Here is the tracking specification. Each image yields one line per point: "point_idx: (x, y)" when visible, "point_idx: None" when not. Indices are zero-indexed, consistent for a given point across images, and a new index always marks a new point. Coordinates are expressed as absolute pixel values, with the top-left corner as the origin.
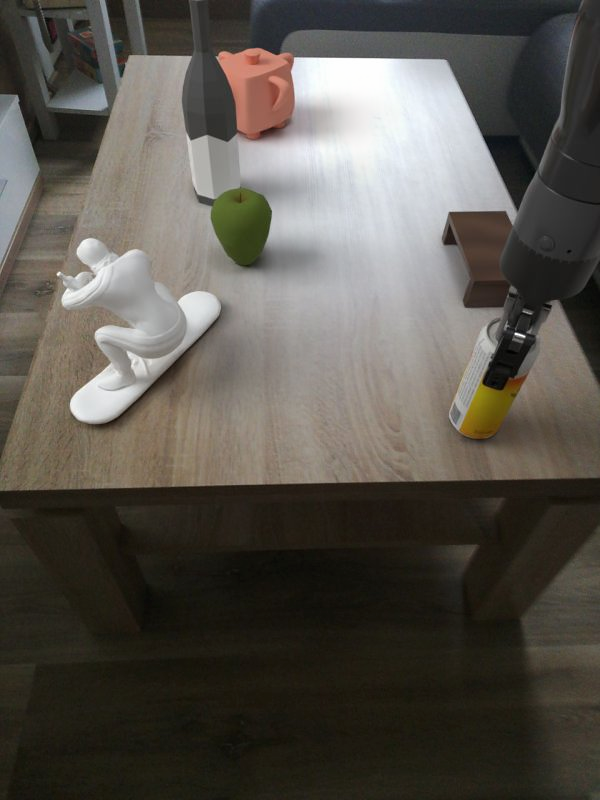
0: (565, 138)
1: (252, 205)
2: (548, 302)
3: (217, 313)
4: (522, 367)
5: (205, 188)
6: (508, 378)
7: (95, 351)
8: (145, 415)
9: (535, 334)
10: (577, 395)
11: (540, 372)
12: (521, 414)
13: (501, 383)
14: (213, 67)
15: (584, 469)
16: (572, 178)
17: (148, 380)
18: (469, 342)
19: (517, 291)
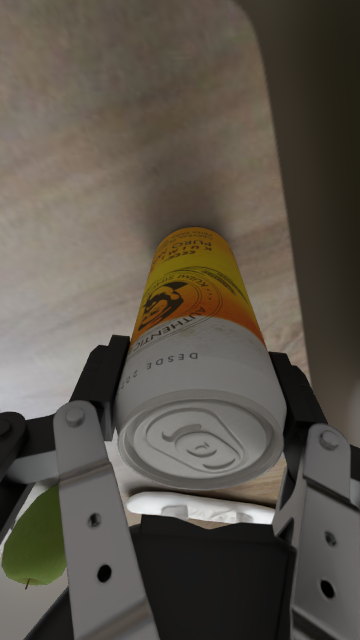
0: None
1: (32, 574)
2: (152, 618)
3: (146, 495)
4: (275, 378)
5: (4, 538)
6: (298, 384)
7: (212, 523)
8: (263, 494)
9: (357, 580)
10: (33, 43)
11: (18, 147)
12: (143, 180)
13: (310, 390)
14: None
15: (242, 15)
16: None
17: (236, 508)
18: (29, 283)
19: (25, 491)
